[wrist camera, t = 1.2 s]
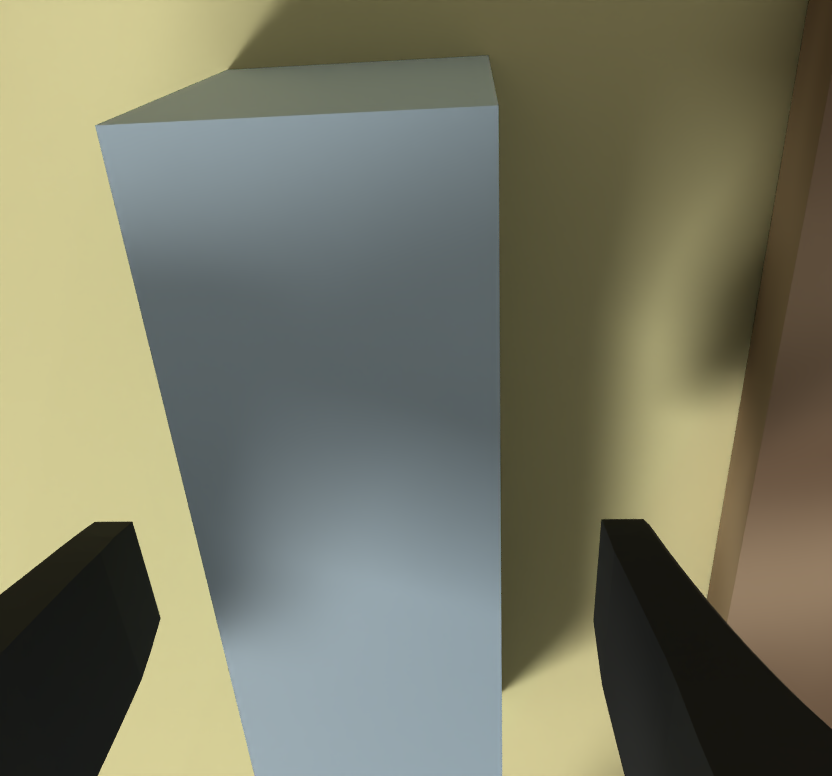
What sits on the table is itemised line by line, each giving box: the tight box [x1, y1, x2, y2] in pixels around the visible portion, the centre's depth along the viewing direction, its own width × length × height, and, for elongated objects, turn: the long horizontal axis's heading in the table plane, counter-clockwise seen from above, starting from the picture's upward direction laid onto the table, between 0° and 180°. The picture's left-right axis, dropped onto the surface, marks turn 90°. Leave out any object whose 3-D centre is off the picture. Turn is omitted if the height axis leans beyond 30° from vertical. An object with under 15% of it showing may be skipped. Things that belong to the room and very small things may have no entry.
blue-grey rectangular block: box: [95, 55, 502, 776], centre depth 13 cm, size 14×4×5 cm, turn 3°
